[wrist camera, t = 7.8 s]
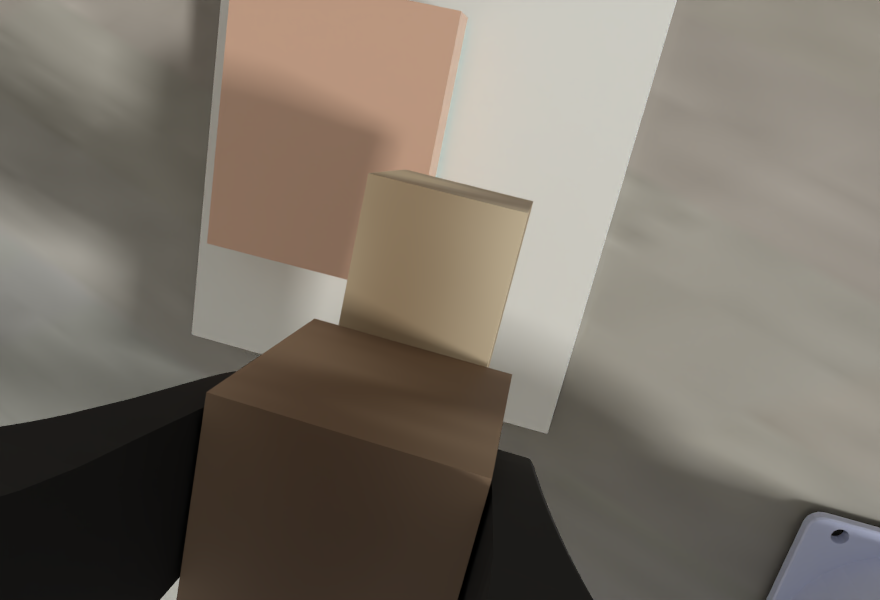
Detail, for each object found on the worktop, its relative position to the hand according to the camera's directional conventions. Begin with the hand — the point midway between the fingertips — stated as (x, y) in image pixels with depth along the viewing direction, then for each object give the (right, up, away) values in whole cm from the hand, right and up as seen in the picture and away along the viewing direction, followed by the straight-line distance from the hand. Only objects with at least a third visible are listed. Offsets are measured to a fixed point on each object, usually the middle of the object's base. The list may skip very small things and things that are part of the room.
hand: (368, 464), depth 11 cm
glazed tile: (+1, +7, +8) cm, 10 cm away
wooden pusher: (+1, +1, +5) cm, 5 cm away
